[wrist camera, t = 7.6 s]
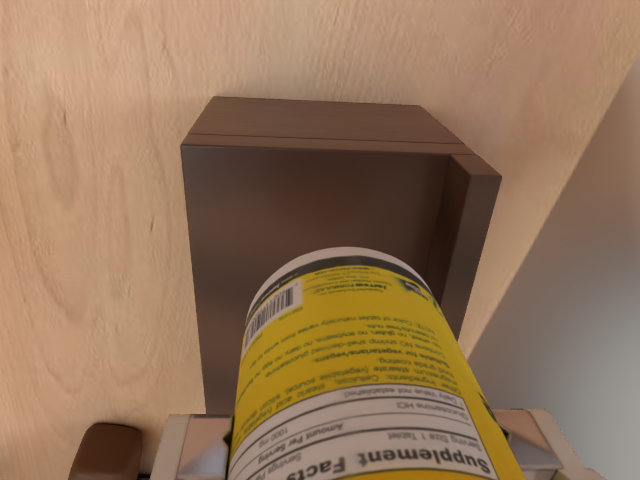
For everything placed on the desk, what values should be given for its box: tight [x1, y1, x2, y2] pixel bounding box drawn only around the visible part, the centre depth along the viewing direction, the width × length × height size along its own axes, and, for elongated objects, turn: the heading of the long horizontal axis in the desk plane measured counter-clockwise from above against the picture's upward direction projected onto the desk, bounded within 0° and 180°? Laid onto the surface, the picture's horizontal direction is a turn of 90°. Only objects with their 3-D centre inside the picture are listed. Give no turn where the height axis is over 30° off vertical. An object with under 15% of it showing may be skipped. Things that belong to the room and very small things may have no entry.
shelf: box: [180, 97, 502, 415], centre depth 27 cm, size 28×12×11 cm, turn 177°
